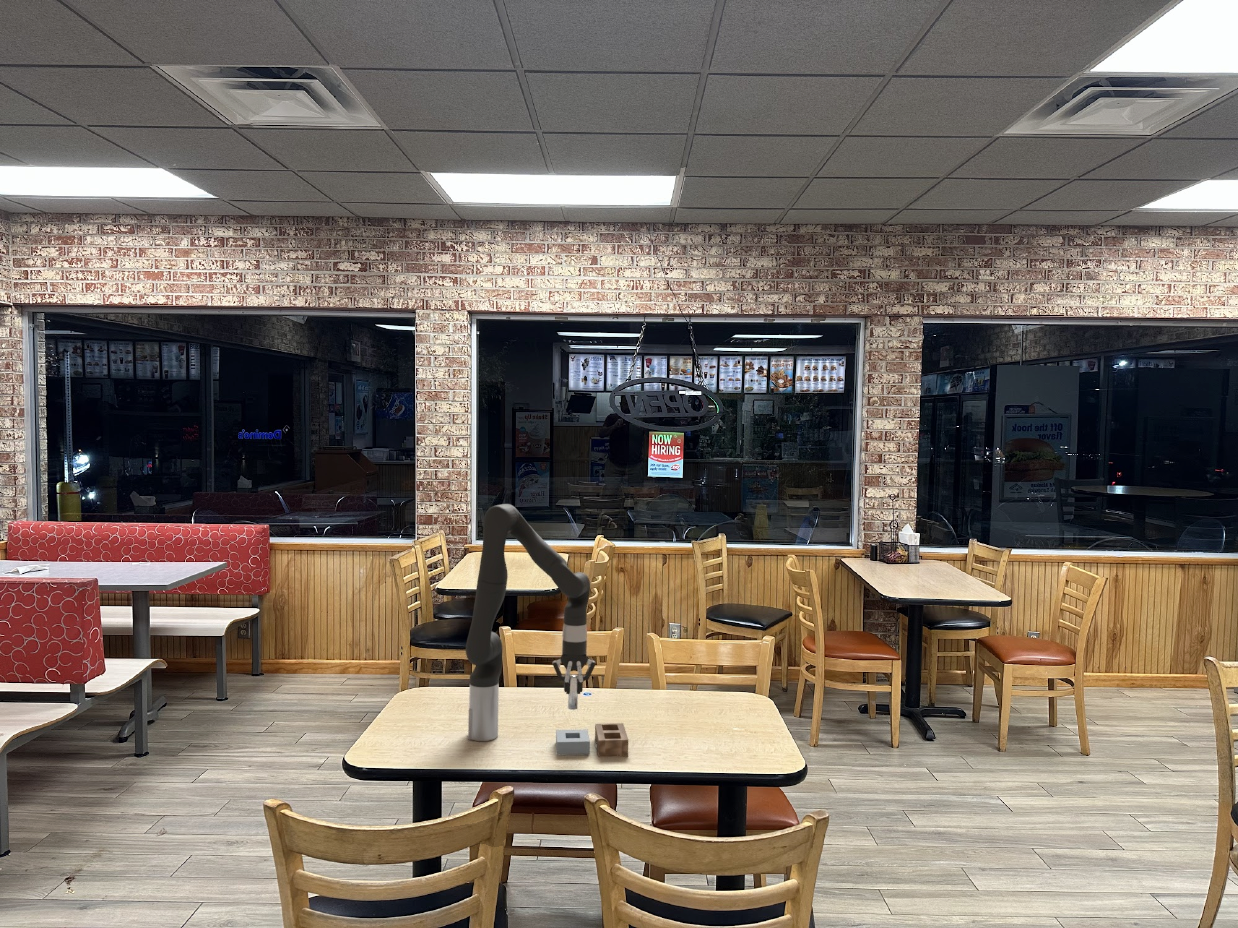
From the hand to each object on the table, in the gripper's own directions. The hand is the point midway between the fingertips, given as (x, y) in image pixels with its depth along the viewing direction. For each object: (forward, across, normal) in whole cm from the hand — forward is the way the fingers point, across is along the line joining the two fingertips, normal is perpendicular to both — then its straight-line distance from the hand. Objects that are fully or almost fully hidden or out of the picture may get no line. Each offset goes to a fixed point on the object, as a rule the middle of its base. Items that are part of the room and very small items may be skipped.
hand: (573, 692), depth 243 cm
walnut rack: (+17, +12, 0) cm, 21 cm away
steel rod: (+5, 0, 0) cm, 5 cm away
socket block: (+17, 0, 0) cm, 17 cm away
